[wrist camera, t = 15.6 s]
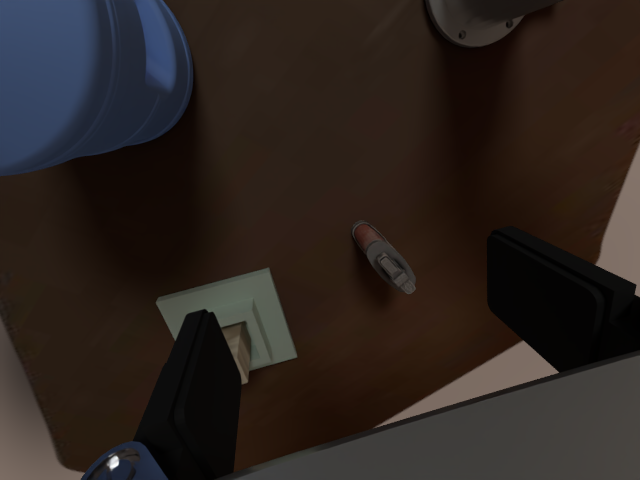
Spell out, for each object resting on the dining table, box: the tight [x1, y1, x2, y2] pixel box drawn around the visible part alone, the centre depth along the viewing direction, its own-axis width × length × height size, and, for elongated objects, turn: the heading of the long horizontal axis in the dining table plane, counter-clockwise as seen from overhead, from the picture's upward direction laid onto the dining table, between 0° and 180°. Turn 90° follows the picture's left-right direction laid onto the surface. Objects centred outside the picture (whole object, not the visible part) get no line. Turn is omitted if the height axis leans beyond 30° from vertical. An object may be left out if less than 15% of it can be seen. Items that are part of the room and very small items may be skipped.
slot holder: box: [156, 268, 297, 371], centre depth 44 cm, size 15×15×4 cm
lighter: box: [351, 221, 416, 294], centre depth 39 cm, size 8×3×10 cm, turn 41°
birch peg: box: [221, 321, 251, 384], centre depth 41 cm, size 4×4×8 cm
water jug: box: [0, 0, 193, 176], centre depth 19 cm, size 16×16×28 cm
